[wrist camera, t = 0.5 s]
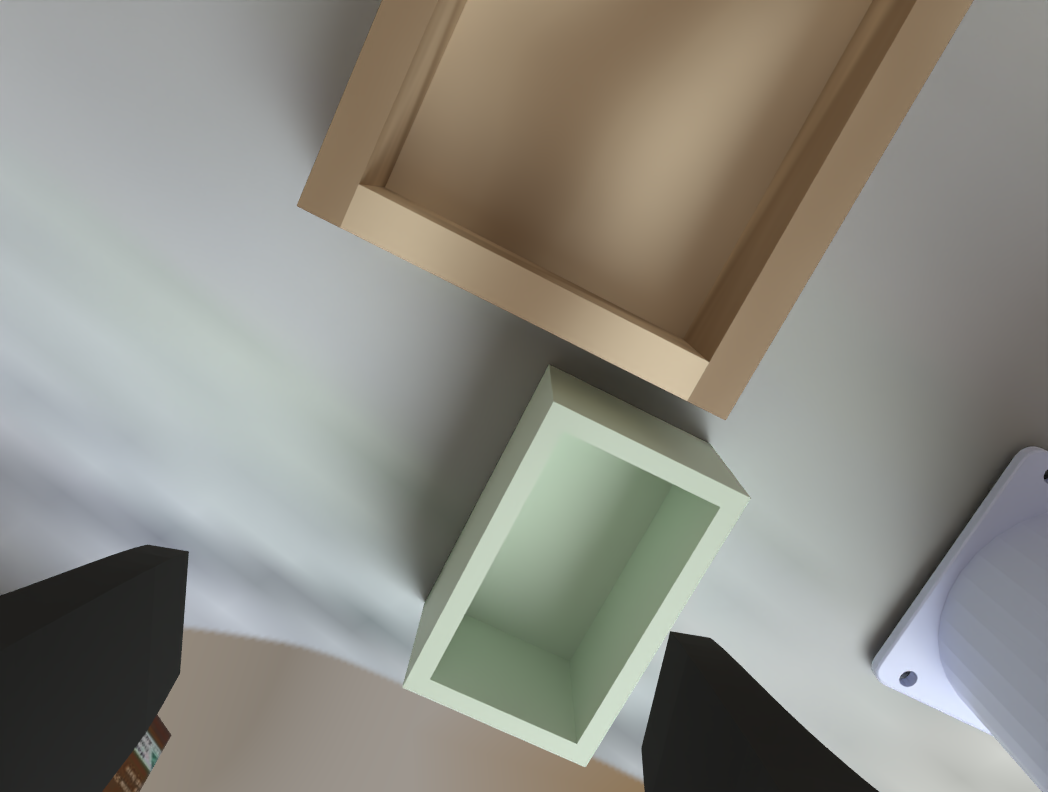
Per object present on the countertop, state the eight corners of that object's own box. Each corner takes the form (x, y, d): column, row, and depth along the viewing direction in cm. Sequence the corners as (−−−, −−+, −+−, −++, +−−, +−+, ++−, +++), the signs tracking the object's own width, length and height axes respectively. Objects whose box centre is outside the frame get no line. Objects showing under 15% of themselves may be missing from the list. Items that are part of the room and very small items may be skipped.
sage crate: (709, 444, 21) (751, 498, 17) (575, 671, 23) (585, 767, 19) (548, 364, 20) (553, 401, 17) (424, 603, 22) (402, 687, 18)
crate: (983, -122, 18) (1091, -200, 14) (693, 384, 21) (725, 420, 17) (581, -367, 17) (595, -514, 13) (337, 205, 20) (296, 205, 16)
